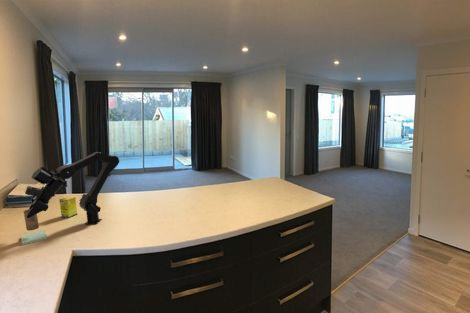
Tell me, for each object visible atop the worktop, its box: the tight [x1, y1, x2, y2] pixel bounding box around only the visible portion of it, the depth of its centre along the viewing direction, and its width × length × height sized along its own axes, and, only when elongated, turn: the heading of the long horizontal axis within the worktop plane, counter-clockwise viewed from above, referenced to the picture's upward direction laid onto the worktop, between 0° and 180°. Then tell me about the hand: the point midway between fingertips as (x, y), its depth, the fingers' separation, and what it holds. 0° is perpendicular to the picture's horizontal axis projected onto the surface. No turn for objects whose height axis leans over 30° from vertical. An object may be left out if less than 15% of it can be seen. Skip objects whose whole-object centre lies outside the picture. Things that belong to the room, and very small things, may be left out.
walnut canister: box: [23, 208, 40, 232], centre depth 147 cm, size 5×5×9 cm
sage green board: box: [20, 230, 48, 246], centre depth 149 cm, size 10×10×1 cm
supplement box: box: [58, 195, 78, 219], centre depth 178 cm, size 6×6×11 cm
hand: (27, 215), depth 146 cm, fingers closed on walnut canister, 5 cm apart
